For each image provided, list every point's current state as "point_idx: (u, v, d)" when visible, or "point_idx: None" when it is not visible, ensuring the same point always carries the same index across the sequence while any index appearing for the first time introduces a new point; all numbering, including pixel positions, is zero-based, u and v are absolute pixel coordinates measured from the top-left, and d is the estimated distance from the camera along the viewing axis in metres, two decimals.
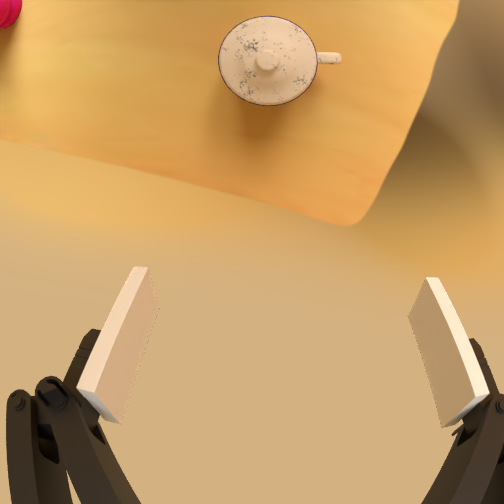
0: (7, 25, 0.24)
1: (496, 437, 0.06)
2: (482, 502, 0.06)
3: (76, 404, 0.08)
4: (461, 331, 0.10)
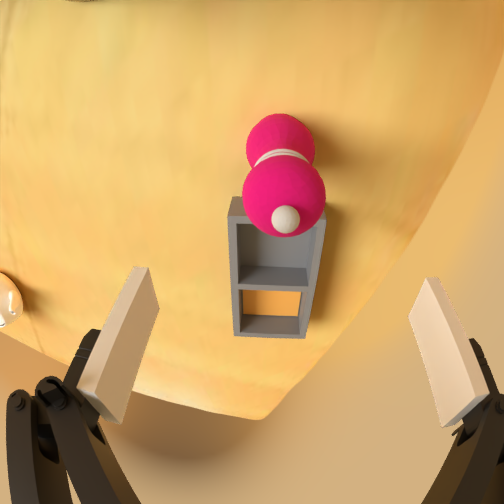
0: None
1: (496, 438, 0.06)
2: (482, 502, 0.06)
3: (76, 404, 0.08)
4: (460, 331, 0.10)
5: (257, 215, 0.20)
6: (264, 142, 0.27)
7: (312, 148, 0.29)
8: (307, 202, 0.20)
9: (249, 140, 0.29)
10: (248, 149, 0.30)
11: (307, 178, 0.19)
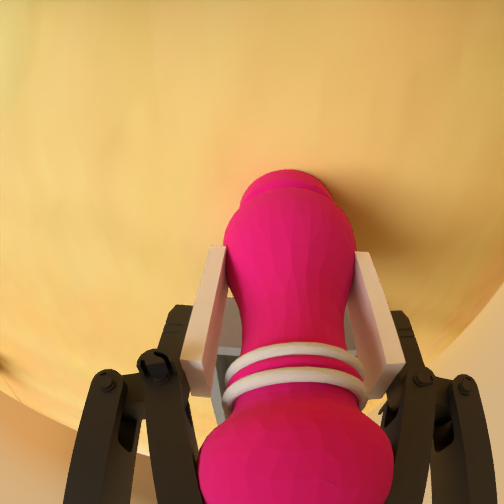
0: None
1: (424, 413, 0.08)
2: (435, 490, 0.07)
3: (179, 382, 0.09)
4: (381, 301, 0.12)
5: None
6: (256, 272, 0.13)
7: None
8: None
9: (226, 245, 0.15)
10: None
11: None
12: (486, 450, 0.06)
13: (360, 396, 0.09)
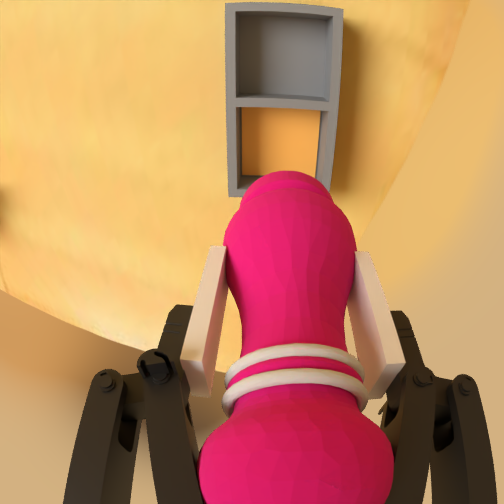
0: None
1: (424, 413, 0.08)
2: (435, 490, 0.07)
3: (179, 382, 0.09)
4: (381, 301, 0.12)
5: None
6: (256, 273, 0.13)
7: None
8: None
9: (226, 246, 0.15)
10: None
11: None
12: (486, 450, 0.06)
13: (360, 397, 0.09)
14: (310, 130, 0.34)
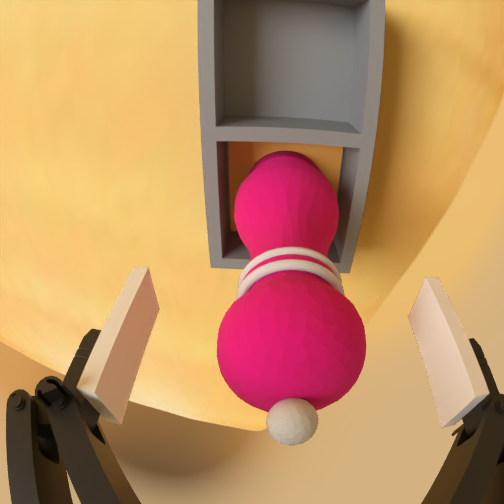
0: None
1: (496, 438, 0.06)
2: (482, 502, 0.06)
3: (76, 404, 0.08)
4: (460, 331, 0.10)
5: (243, 397, 0.11)
6: (261, 214, 0.17)
7: (336, 216, 0.19)
8: (335, 387, 0.10)
9: (238, 201, 0.20)
10: (236, 216, 0.20)
11: (341, 346, 0.09)
12: None
13: (337, 290, 0.13)
14: (327, 171, 0.24)
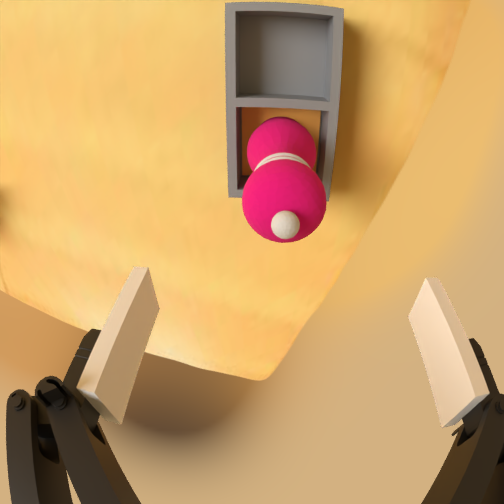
0: None
1: (496, 438, 0.06)
2: (482, 502, 0.06)
3: (76, 404, 0.08)
4: (460, 331, 0.10)
5: (257, 220, 0.20)
6: (265, 146, 0.27)
7: (313, 152, 0.29)
8: (307, 207, 0.19)
9: (250, 143, 0.29)
10: (249, 152, 0.29)
11: (308, 183, 0.19)
12: None
13: None
14: (310, 131, 0.33)
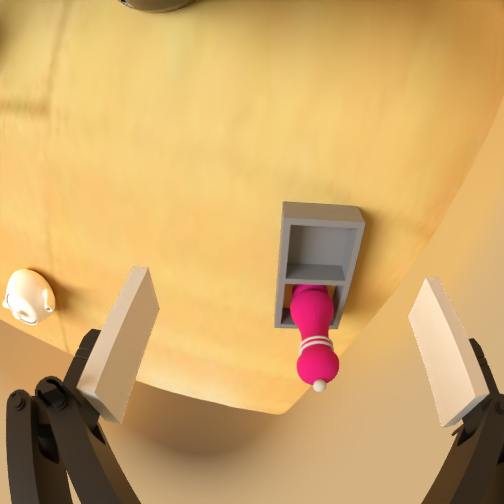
0: None
1: (497, 438, 0.06)
2: (482, 502, 0.06)
3: (76, 404, 0.08)
4: (460, 331, 0.10)
5: (305, 380, 0.39)
6: (305, 318, 0.46)
7: (332, 313, 0.48)
8: (330, 376, 0.38)
9: (294, 308, 0.48)
10: (293, 314, 0.48)
11: (331, 366, 0.38)
12: None
13: (331, 348, 0.42)
14: (329, 285, 0.52)
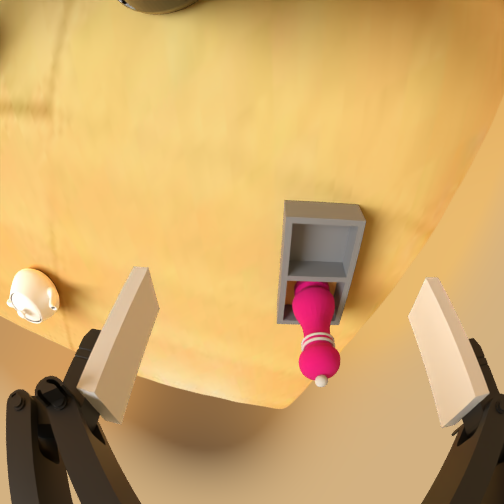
0: None
1: (496, 438, 0.06)
2: (482, 502, 0.06)
3: (76, 404, 0.08)
4: (460, 331, 0.10)
5: (307, 375, 0.40)
6: (307, 314, 0.47)
7: (333, 310, 0.49)
8: (331, 372, 0.39)
9: (296, 305, 0.49)
10: (295, 310, 0.49)
11: (333, 362, 0.39)
12: None
13: (332, 344, 0.43)
14: (331, 281, 0.53)
